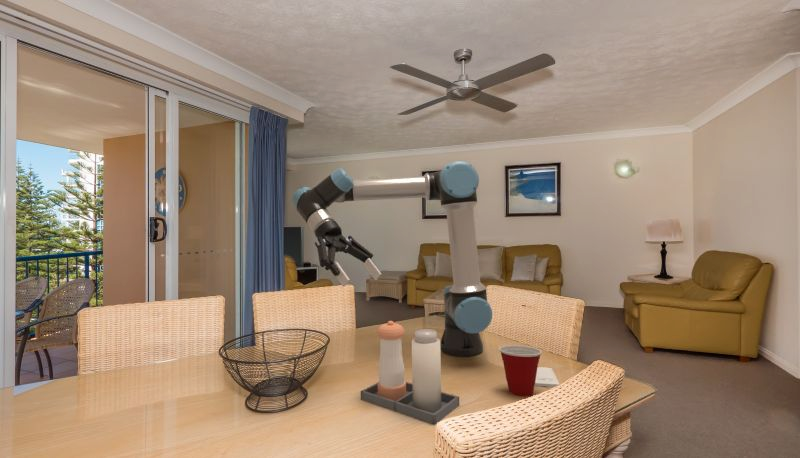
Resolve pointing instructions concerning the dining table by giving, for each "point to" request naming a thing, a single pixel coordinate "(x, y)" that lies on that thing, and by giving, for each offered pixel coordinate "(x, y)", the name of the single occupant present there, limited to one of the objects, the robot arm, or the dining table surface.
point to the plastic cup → (520, 368)
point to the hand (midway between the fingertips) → (363, 280)
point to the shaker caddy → (411, 404)
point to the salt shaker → (426, 371)
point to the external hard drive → (545, 378)
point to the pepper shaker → (391, 362)
